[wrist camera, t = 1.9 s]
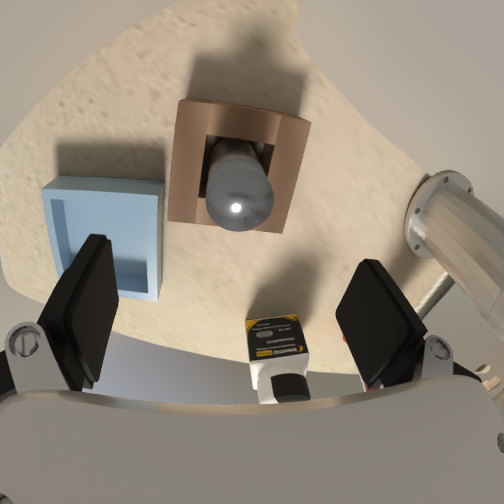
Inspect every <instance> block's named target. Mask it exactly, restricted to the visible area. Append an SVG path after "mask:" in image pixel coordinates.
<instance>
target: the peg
mask: <svg viewBox="0 0 504 504" xmlns="http://www.w3.org/2000/svg"><path fill="white" fill-rule="evenodd" d="M205 203H206V209H207V212H208V214H209V216H210V217H211V219H212V220H213V221H214V222H215V223H216V224H217V225H219V226H220V227H222V228H224V229H226V230H230V231H237V232H241V231H248V230H251V229H254V228H256V227H258V226H259V225H261V224H262V223H263V222H264V221H265V220H266V219H267V218H268V217H269V215H270V214H271V211H272V209H273V206H274V193H273V190H272V187H271V185H270V183H269V181H268V179H267V177H266V174H265V172H264V170H263V168H262V166H261V164H260V162H259V160H258V158H257V156H256V154H255V152H254V150H253V148H252V146H251V145H250V144H249V143H248V142H247V141H245V140H243V139H236V138H226V139H224V140H222V141H220V142H219V143H218V144H217V145H216V146H215V147H214V149H213V151H212V155H211V161H210V168H209V175H208V183H207V191H206V200H205Z"/></svg>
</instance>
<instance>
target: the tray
mask: <svg viewBox="0 0 504 504" xmlns="http://www.w3.org/2000/svg"><path fill="white" fill-rule="evenodd" d="M164 194H165V182H163V181H151V180H138V179H122V178H104V177H79V176H58V177H56V178H55V179H54V180H52V181H51V182H50V183H48V184H47V185H46V186H45V187H43V188H42V197H43V205H44V212H45V218H46V224H47V229H48V234H49V239H50V244H51V249H52V253H53V258H54V262H55V266H56V270H57V273H58V277H59V279H60V277H61V276H62V274H63V272H64V271H65V270H66V269H67V268H69V266H70V265H71V263H72V261H73V260H74V258H75V256H76V255H77V253H78V252H79V250H80V248H81V247H82V245H83V244H84V242H85V240H86V239H87V237H88V236H89V235H90V234H91V233H92V234H104V235H106V237H107V239H110V240H111V242H112V251H113V260H114V269H115V276H116V283H117V290H118V296H119V297H126V298H134V299H142V300H150V301H158V298H159V294H160V289H161V285H162V246H163V213H164Z"/></svg>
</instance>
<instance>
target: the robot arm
mask: <svg viewBox="0 0 504 504" xmlns="http://www.w3.org/2000/svg"><path fill="white" fill-rule="evenodd" d="M404 234H405V239H406V242H407V244H408V246H409V247H410V249H411V250H412V251H413V252H414V253H415V254H416V255H417V256H419V257H421V258H426V259H430V258H435V259H436V260H437V261H438V262H439V264H440V265H441V266H442V267H443V268H444V269H445V270H446V271H447V273H448V274H449V275H450V276H451V277H452V278H453V280H454V281H455V282H456V283H457V284H458V286H459V287H460V288H461V289H462V291H463V292H464V293H465V294H466V295H467V297H468V298H469V299H470V300H471V302H472V303H473V304H474V306H475V307H476V308H477V310H478V311H479V312H480V314H481V315H482V316H483V318H484V319H485V320H486V322H487V323H488V325H489V326H490V327H491V329H492V330H493V332H494V333H495V334H496V335H497V336H498V337H499V338H500V339H501V340H503V341H504V218H503V217H501V216H500V215H499V214H497V213H496V212H495V211H494V210H492V209H491V208H489V207H488V206H487V205H485V204H484V203H483V202H481V201H480V200H478V199H477V198H476V197H474V192H473V188H472V186H471V183H470V182H469V180H468V179H467V178H466V177H465V176H463V175H462V174H460V173H458V172H456V171H452V170H445V171H441V172H439V173H436V174H435V175H433V176H431V177H430V178H429V179H428V180H427V181H425V182H424V183H423V184H422V186H421V187H420V188H419V189H418V191H417V192H416V194H415V195H414V197H413V199H412V201H411V203H410V205H409V208H408V211H407V214H406V218H405V225H404ZM118 303H119V296H118V290H117V283H116V276H115V269H114V260H113V251H112V242H111V240H110V239H107V237H106V235H104V234H92V233H91V234H90V235H89V236H88V237H87V239H86V240H85V242H84V244H83V245H82V247H81V248H80V250H79V252H78V253H77V255H76V256H75V258H74V260H73V261H72V263H71V265H70V266H69V268H67V269H66V270H65V271H64V272H63V274H62V276H61V277H60V279H59V281H58V283H57V284H56V286H55V288H54V290H53V292H52V294H51V296H50V297H49V299H48V301H47V303H46V305H45V307H44V309H43V311H42V313H41V315H40V317H39V319H38V322H37V324H36V323H33V322H23V323H20V324H18V325H16V326H15V327H13V328H12V329H11V331H9V333H8V335H7V337H6V340H5V350H4V351H2V352H0V504H504V388H503V389H502V390H501V391H500V392H499V393H498V394H497V395H496V396H495V397H494V398H492V397H491V396H490V394H489V393H488V391H487V390H486V388H485V387H484V385H483V384H482V381H481V379H480V378H479V377H478V376H477V375H475V374H474V373H472V372H470V371H469V370H467V369H465V368H464V367H462V366H460V365H459V364H457V363H455V362H454V361H453V352H452V349H451V347H450V346H449V344H448V343H447V342H446V341H445V340H444V339H442V338H441V337H438V336H436V335H430V336H428V337H427V338H426V340H424V338H423V336H424V335H425V334H426V333H427V331H428V330H427V329H426V327H425V326H424V324H423V323H422V321H421V319H420V318H419V316H418V315H417V313H416V312H415V310H414V309H413V307H412V306H411V305H410V303H409V302H408V300H407V299H406V297H405V296H404V294H403V293H402V292H401V290H400V289H399V287H398V286H397V285H396V283H395V282H394V280H393V279H392V278H391V276H390V275H389V274H388V272H387V271H386V270H385V268H384V267H383V266H382V264H381V263H380V262H379V261H378V260H374V259H364V260H363V261H362V262H360V263H359V265H358V267H357V269H356V271H355V273H354V275H353V277H352V279H351V281H350V283H349V285H348V288H347V290H346V292H345V294H344V296H343V298H342V300H341V302H340V303H339V305H338V307H337V309H336V319H337V321H338V324H339V326H340V328H341V330H342V333H343V335H344V337H345V339H346V342H347V344H348V346H349V349H350V351H351V353H352V356H353V358H354V361H355V363H356V365H357V368H358V370H359V373H360V375H361V377H362V380H363V381H364V382H365V383H366V384H367V386H368V389H374V388H379V387H380V386H381V385H382V384H383V387H384V388H382V389H378V390H373V391H368V392H362V393H357V394H351V395H345V396H339V397H332V398H325V399H317V400H309V401H299V402H288V403H275V404H255V405H196V404H178V403H164V402H153V401H144V400H135V399H126V398H119V397H112V396H106V395H99V394H92V393H85V392H82V388H88V389H92V388H93V384H94V382H98V380H99V377H100V373H101V368H102V364H103V359H104V355H105V351H106V347H107V343H108V339H109V336H110V332H111V329H112V325H113V322H114V318H115V315H116V311H117V308H118Z"/></svg>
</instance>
